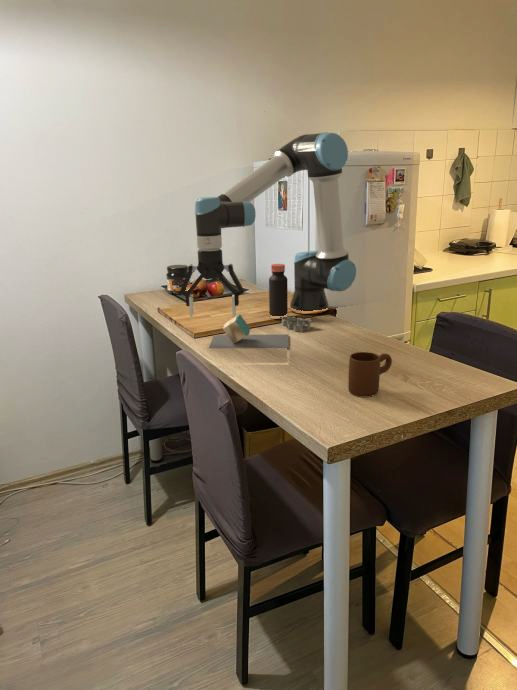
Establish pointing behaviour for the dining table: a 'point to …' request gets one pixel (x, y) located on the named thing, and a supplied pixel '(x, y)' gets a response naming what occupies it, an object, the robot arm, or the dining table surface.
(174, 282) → the supplement container
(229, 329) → the maple cube
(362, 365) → the mug
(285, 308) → the bottle
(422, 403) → the dining table surface
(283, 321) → the egg carton
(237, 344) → the rubber mat
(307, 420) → the dining table surface
